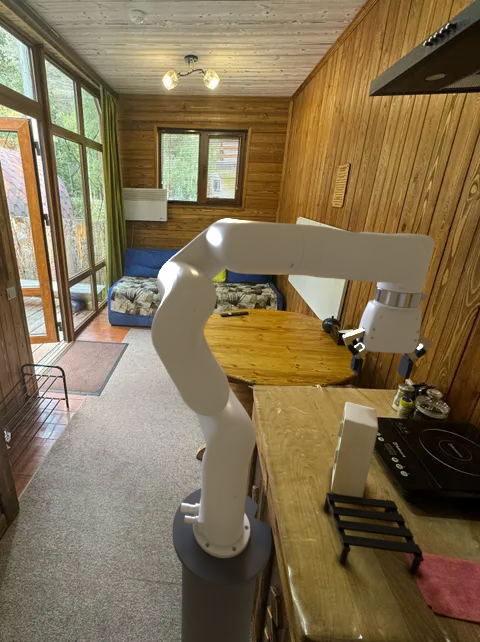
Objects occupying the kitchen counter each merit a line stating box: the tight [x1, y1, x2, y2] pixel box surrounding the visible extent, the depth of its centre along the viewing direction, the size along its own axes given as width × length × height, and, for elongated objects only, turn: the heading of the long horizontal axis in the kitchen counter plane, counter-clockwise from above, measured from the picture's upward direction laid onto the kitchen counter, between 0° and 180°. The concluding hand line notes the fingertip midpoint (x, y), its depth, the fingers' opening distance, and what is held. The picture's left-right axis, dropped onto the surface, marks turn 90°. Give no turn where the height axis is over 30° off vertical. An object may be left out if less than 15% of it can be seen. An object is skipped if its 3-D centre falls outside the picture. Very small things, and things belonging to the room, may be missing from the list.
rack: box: [323, 492, 425, 576], centre depth 63 cm, size 14×12×5 cm
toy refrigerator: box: [330, 401, 379, 498], centre depth 73 cm, size 8×7×21 cm
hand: (379, 374), depth 66 cm, fingers open, 9 cm apart
